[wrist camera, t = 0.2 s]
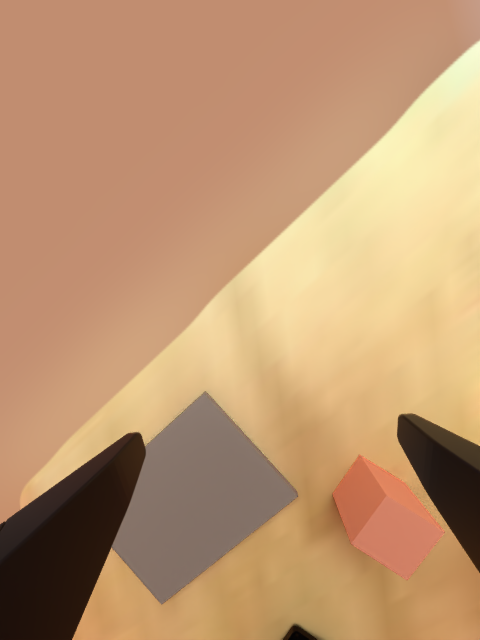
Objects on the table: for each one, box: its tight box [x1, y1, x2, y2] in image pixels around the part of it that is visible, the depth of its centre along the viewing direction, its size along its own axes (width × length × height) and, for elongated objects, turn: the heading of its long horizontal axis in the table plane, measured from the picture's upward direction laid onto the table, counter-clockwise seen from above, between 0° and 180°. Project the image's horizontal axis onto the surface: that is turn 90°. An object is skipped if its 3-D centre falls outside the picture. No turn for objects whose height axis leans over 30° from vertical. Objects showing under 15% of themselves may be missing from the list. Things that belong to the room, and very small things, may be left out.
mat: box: [112, 391, 298, 604], centre depth 24 cm, size 20×14×1 cm
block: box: [333, 455, 445, 580], centre depth 20 cm, size 5×5×5 cm
